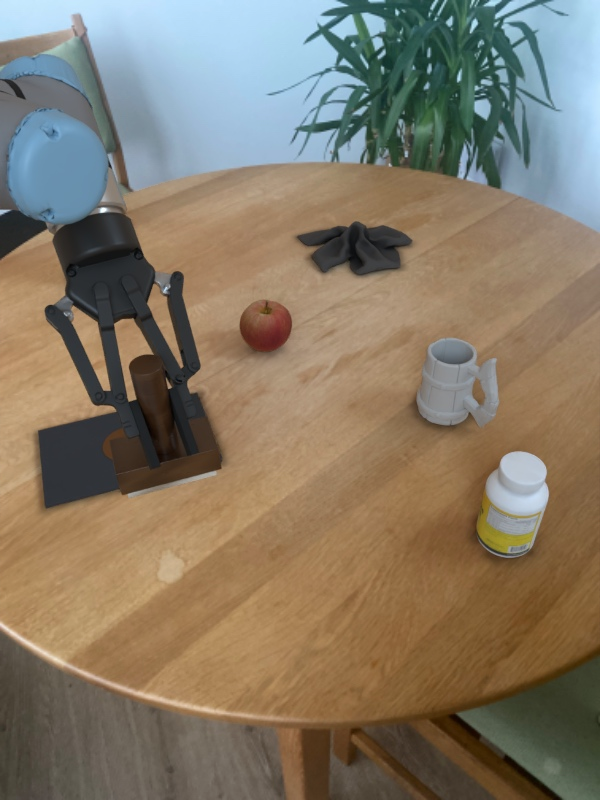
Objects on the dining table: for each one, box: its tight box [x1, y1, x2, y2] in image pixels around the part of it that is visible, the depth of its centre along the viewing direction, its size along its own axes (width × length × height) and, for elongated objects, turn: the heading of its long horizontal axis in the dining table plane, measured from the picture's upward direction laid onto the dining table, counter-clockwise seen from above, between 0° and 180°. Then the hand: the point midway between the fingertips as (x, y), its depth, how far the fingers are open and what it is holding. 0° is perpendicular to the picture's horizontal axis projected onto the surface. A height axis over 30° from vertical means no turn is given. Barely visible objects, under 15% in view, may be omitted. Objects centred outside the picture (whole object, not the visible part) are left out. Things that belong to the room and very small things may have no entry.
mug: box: [415, 337, 500, 428], centre depth 88 cm, size 8×12×12 cm, turn 41°
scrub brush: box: [109, 353, 222, 499], centre depth 64 cm, size 10×5×14 cm, turn 109°
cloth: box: [296, 220, 413, 275], centre depth 126 cm, size 22×19×6 cm
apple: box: [239, 299, 293, 353], centre depth 103 cm, size 8×8×8 cm
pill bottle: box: [475, 450, 550, 559], centre depth 73 cm, size 6×6×12 cm
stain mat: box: [37, 392, 223, 509], centre depth 89 cm, size 22×14×1 cm, turn 110°
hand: (174, 460), depth 63 cm, fingers closed on scrub brush, 3 cm apart
